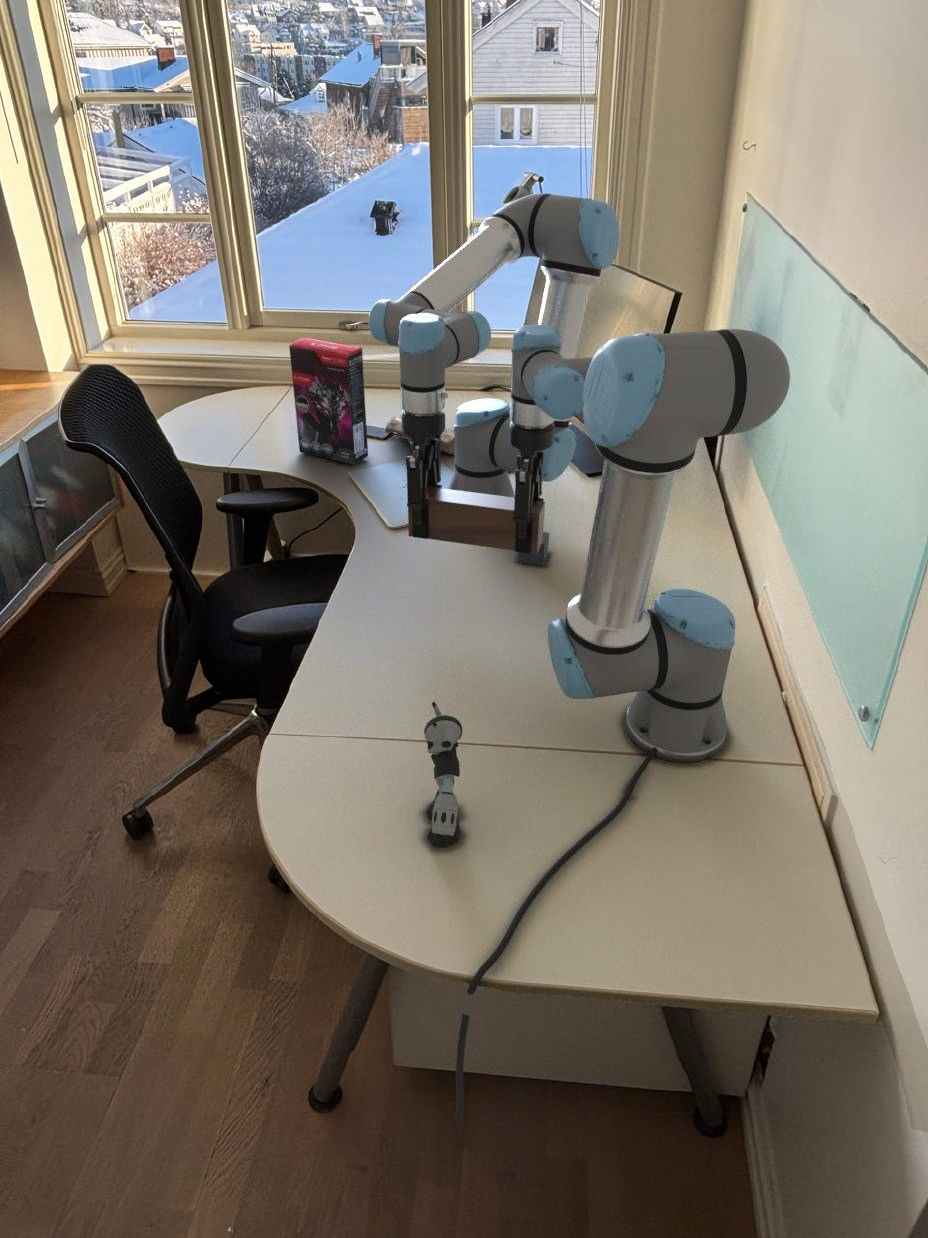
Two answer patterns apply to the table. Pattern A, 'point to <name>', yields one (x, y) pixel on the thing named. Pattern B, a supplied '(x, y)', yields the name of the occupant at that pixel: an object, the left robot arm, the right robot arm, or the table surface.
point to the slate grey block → (540, 556)
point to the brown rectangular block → (477, 519)
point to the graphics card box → (329, 399)
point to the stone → (396, 426)
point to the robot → (443, 777)
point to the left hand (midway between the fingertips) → (425, 529)
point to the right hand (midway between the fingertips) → (526, 544)
